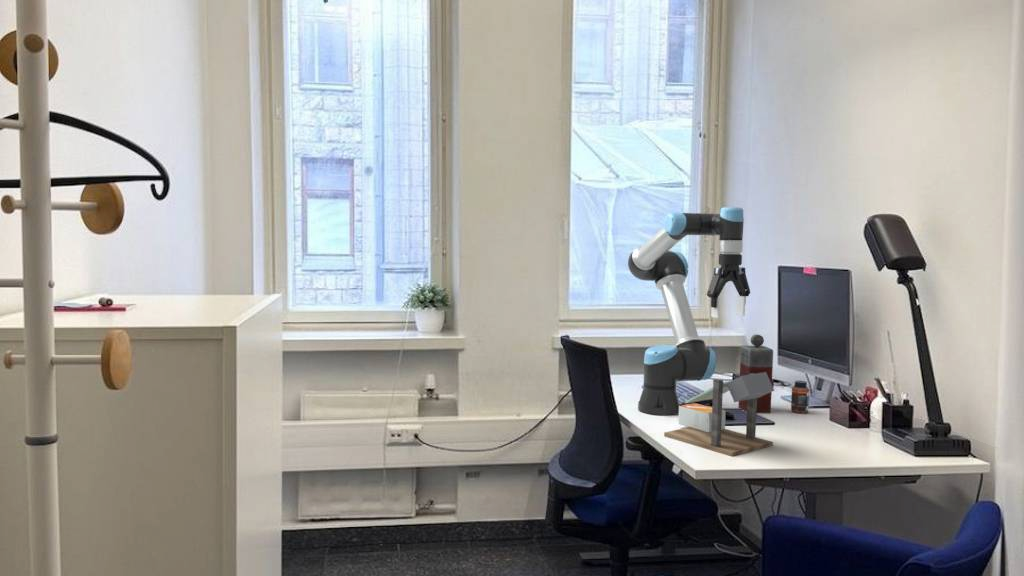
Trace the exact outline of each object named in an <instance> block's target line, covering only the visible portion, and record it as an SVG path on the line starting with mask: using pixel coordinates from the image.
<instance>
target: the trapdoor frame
mask: <svg viewBox="0 0 1024 576" xmlns="http://www.w3.org/2000/svg"><path fill="white" fill-rule="evenodd" d="M751 374H754V373H751ZM749 375H750V374H749ZM723 382H724V379H721V378H717V379H714V378H713V380H712V385H713V386H712V388H713V398H712V406H711V407H712V431H711V432H705V431H702V430H698V429H695V428H691V427H684V428H678V429H674V430H669V431H665V432H664V433H663V434H664V435H663V437H666V438H668V439H673V440H675V441H679V442H682V443H686V444H689V445H692V446H696V447H699V448H703V449H706V450H709V451H713V452H716V453H719V454H723V455H727V456H728V457H729V456H730V457H734V456H738V455H739V456H740V455H742V454H746V453H749V452H754V451H757V450H758V451H759V450H761V449H765V448H769V447H773V446H774V444H773V443H774V441H773V440H768V439H764V438H760V437H756V433H757V432H756V430H757V413H756V410H757V398H754V399H749V400H747V413H746V425H745V426H746V428H745V429H746V431H745V433H742V432H738V431H735V430H730V429H727V428H725V429H723V430H721V424H722V410H723V398H724V397H723V395H724V393H723Z"/></svg>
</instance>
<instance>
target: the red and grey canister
mask: <svg viewBox="0 0 1024 576" xmlns="http://www.w3.org/2000/svg"><path fill="white" fill-rule="evenodd" d="M764 341H765V340H764V337H763V336H762V335H761V334H759V333H757V334H753V335H752V336H751V337H750V343H751V345H741V346H740V358H739V359H740V360H739V363H740V364H739V377H740V376H744V375H749V374H751V373H754V374H756V373H762V372H766V373H767V375H768V377H769V380H770V382H771V384H772V385H773V368H774V367H773V363H774V350H773V349H772V348H770V347H768V346H765V345H763V344H764ZM772 392H773V391H772ZM772 392H770V393H768V394H766V395H763V396H761V397H759V398H757V410H756V414H771V411H772ZM738 409H740V410H741V411H743V410H744V411H743V412H745V411H746V412H747V400H744V401H738ZM746 412H745V413H746Z"/></svg>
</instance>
